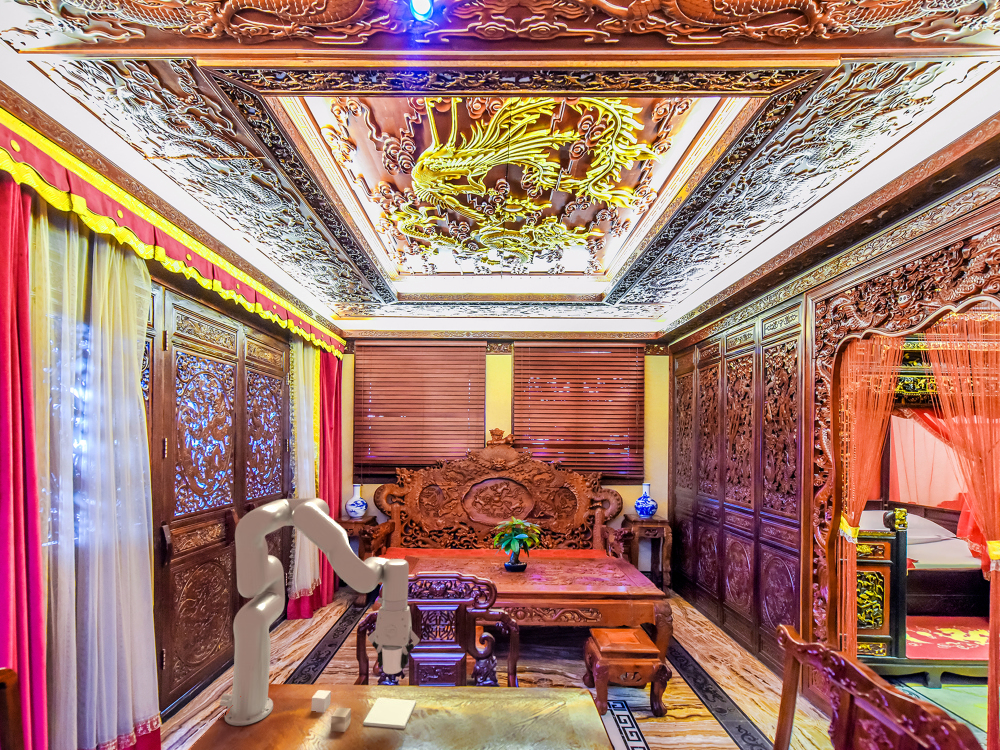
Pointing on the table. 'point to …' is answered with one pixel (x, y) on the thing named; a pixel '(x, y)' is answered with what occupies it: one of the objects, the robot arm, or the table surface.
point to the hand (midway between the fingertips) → (392, 665)
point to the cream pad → (390, 713)
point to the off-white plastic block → (321, 701)
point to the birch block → (340, 719)
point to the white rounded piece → (392, 659)
